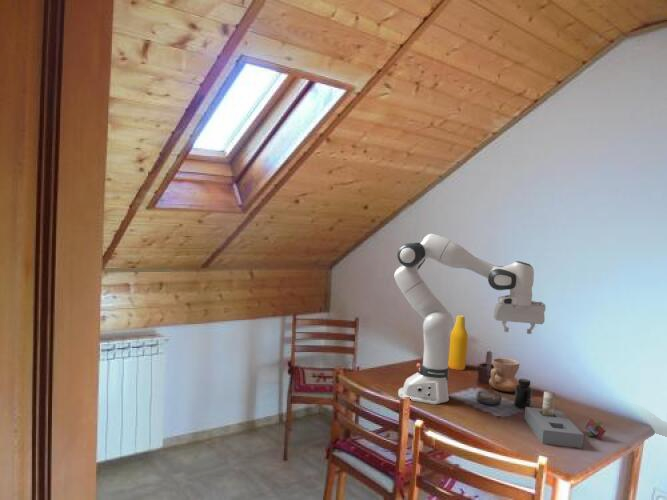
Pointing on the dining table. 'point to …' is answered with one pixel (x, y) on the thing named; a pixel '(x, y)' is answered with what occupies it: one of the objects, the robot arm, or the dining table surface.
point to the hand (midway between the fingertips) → (517, 332)
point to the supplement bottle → (523, 394)
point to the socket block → (553, 428)
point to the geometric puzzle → (595, 429)
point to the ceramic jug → (504, 374)
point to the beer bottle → (458, 345)
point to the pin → (548, 404)
